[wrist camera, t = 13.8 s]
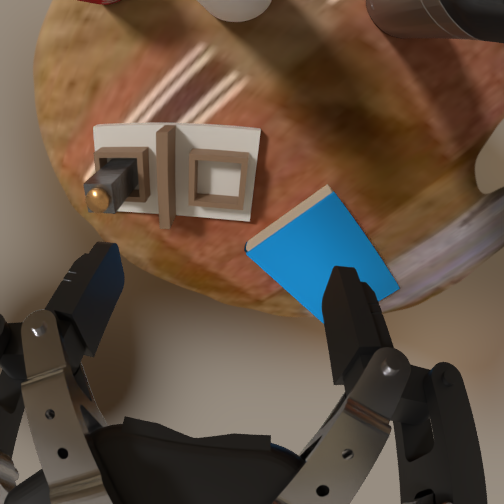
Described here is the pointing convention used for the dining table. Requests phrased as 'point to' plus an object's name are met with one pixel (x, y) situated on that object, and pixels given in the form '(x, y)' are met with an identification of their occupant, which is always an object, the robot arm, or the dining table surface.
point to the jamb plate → (184, 167)
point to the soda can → (101, 1)
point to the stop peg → (111, 185)
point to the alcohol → (235, 9)
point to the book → (318, 250)
